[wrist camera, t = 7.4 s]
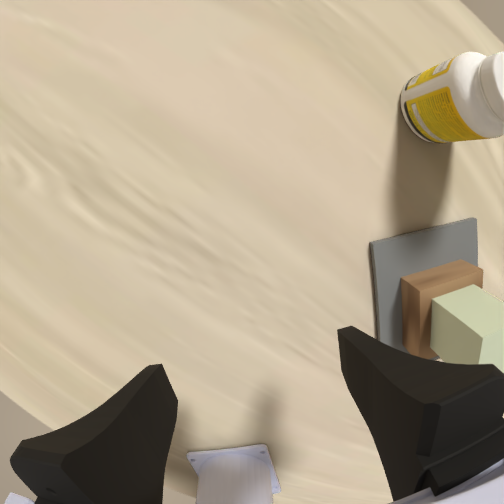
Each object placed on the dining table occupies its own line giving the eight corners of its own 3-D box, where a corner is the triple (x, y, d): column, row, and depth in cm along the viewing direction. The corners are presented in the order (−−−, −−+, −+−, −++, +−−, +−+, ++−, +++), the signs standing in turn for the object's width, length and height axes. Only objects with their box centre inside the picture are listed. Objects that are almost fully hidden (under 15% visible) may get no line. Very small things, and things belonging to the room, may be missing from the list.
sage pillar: (470, 330, 20) (515, 367, 14) (430, 346, 20) (472, 392, 14) (473, 283, 19) (526, 315, 13) (431, 298, 19) (482, 338, 13)
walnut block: (458, 323, 23) (477, 338, 20) (402, 344, 23) (418, 363, 20) (461, 259, 21) (483, 269, 18) (400, 277, 22) (419, 291, 19)
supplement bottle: (451, 152, 20) (543, 152, 10) (394, 130, 20) (482, 111, 10) (456, 91, 19) (541, 68, 9) (401, 66, 18) (480, 20, 9)
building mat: (468, 341, 24) (471, 343, 23) (378, 375, 24) (381, 379, 24) (472, 217, 21) (476, 218, 21) (369, 242, 22) (372, 244, 21)
